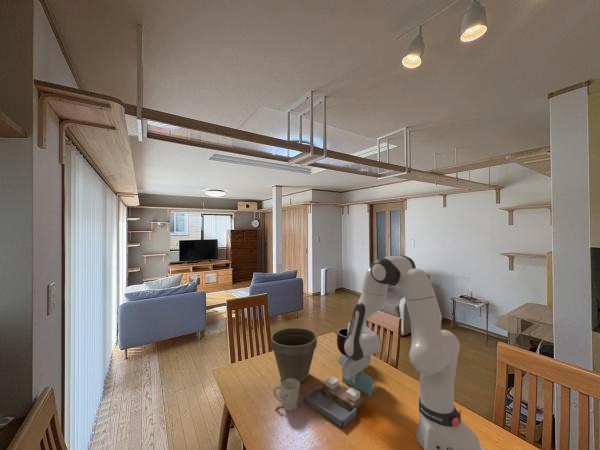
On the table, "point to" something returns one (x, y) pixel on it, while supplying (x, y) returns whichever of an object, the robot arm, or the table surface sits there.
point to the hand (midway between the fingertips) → (357, 380)
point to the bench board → (341, 397)
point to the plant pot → (294, 352)
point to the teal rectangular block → (361, 383)
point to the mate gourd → (342, 344)
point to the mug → (289, 393)
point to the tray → (329, 408)
